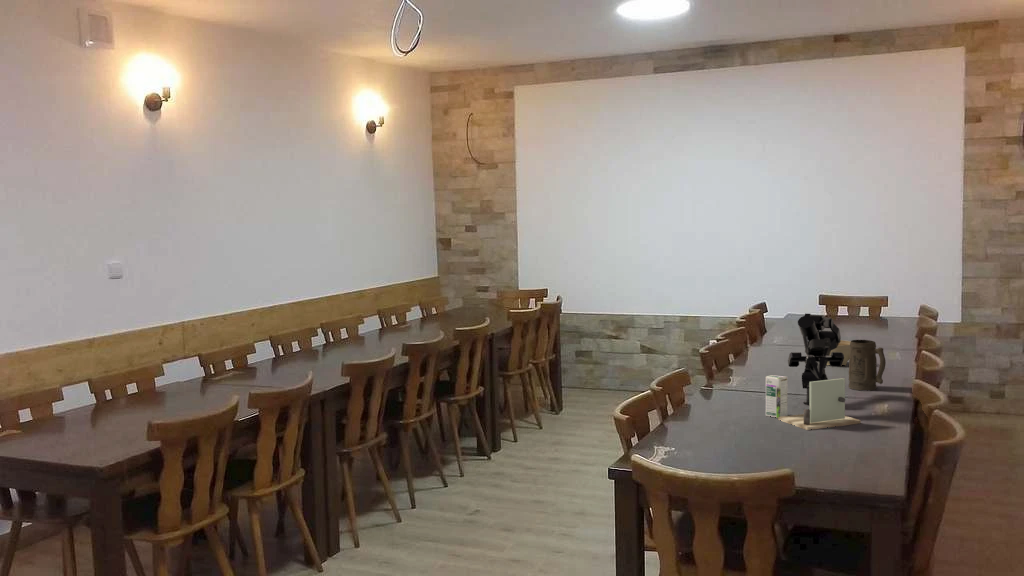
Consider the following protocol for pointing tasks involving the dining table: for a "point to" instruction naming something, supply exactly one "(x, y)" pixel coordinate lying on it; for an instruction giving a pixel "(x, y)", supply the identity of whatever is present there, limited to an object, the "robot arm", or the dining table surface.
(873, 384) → the beer stein
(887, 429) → the dining table surface
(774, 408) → the syrup box
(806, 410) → the door stand
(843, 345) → the planter bowl
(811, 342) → the robot arm
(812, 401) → the door
